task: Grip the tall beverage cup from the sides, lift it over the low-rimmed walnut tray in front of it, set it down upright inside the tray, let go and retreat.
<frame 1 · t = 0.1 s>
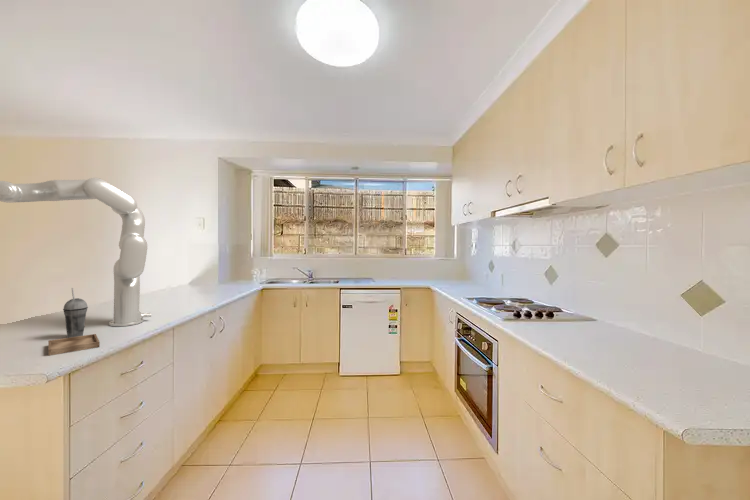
beverage cup: (75, 337, 125), on the worktop
tray: (74, 346, 114), on the worktop
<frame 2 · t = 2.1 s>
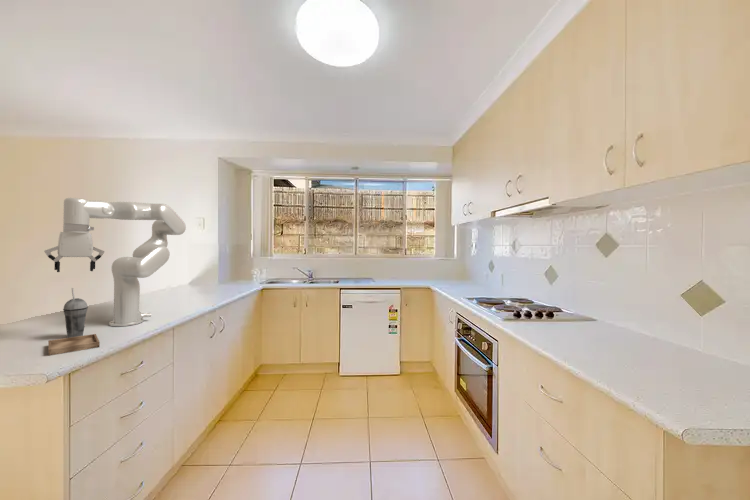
hand: (75, 271, 124), 27 cm above the worktop, tool pointing down, fingers open, 9 cm apart
nothing on the worktop moved.
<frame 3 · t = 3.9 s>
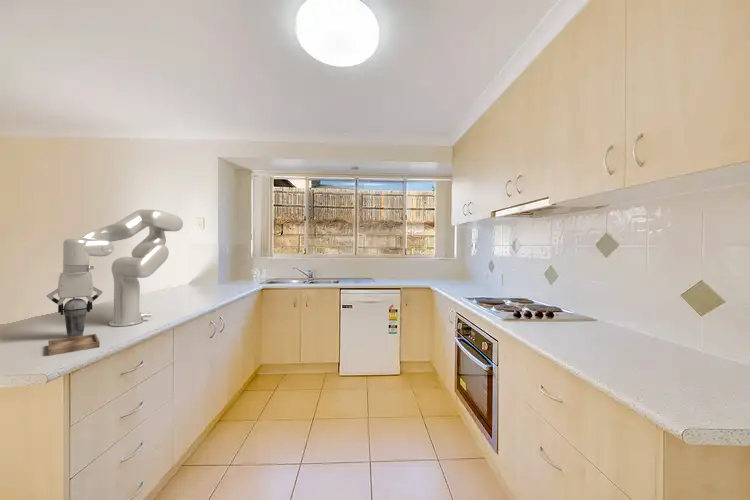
hand: (75, 312, 124), 10 cm above the worktop, tool pointing down, fingers closed on beverage cup, 7 cm apart
beverage cup: (75, 337, 125), on the worktop, touching gripper
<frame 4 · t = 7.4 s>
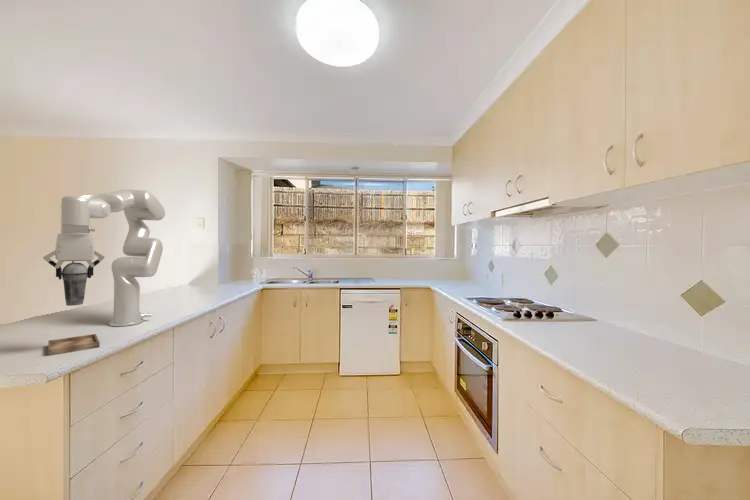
hand: (75, 278, 113), 26 cm above the worktop, tool pointing down, fingers closed on beverage cup, 7 cm apart
beverage cup: (74, 304, 113), point 16 cm above the worktop, touching gripper
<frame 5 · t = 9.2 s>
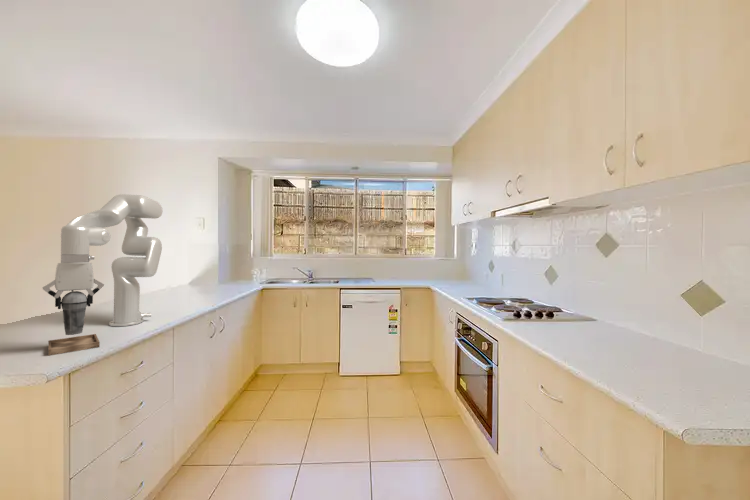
hand: (74, 306, 113), 15 cm above the worktop, tool pointing down, fingers closed on beverage cup, 7 cm apart
beverage cup: (73, 333, 113), point 5 cm above the worktop, touching gripper
when the fingers open (12 cm above the worktop, at t = 10.8 s): beverage cup drops 1 cm, resting on tray.
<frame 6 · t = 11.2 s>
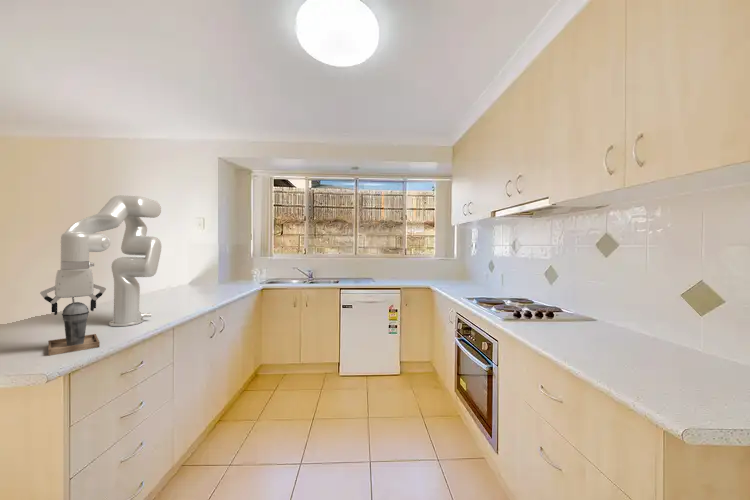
hand: (74, 312, 113), 13 cm above the worktop, tool pointing down, fingers open, 9 cm apart
beverage cup: (75, 344, 114), point 1 cm above the worktop, touching tray
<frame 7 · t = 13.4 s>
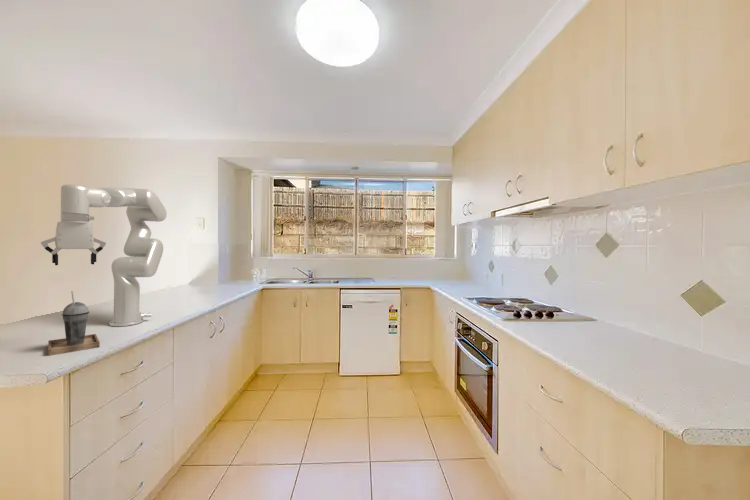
hand: (75, 264, 114), 30 cm above the worktop, tool pointing down, fingers open, 9 cm apart
nothing on the worktop moved.
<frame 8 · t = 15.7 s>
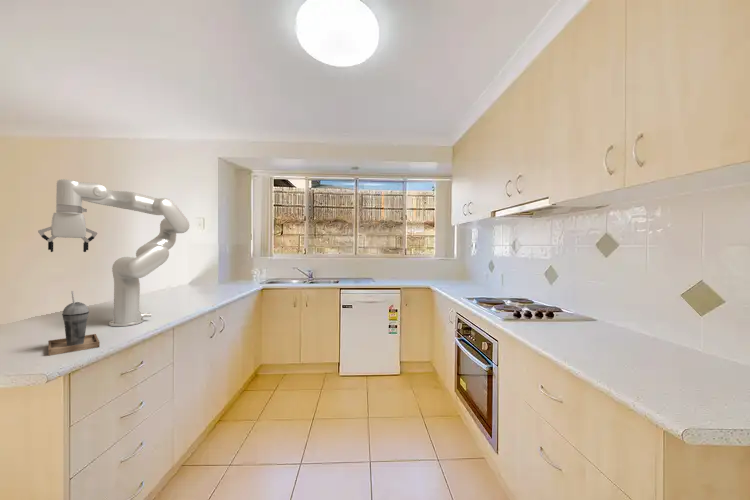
hand: (68, 251, 126), 34 cm above the worktop, tool pointing down, fingers open, 9 cm apart
nothing on the worktop moved.
at the end: beverage cup 0.4 cm off-centre on the tray, point 0.6 cm above the tray's base; beverage cup tilted 0°; the gripper is holding nothing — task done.
